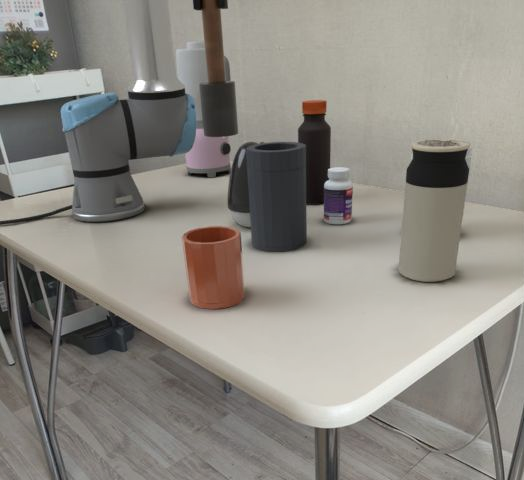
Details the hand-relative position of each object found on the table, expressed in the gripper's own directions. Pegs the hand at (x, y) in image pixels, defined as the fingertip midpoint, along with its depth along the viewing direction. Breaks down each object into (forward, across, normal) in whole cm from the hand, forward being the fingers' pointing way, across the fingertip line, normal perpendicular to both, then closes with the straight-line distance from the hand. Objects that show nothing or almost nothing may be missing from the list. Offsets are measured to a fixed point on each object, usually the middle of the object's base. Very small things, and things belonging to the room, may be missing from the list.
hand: (211, 8), depth 62 cm
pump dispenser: (+34, +1, +30) cm, 45 cm away
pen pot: (+34, -2, -6) cm, 35 cm away
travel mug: (+34, +28, +2) cm, 44 cm away
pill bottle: (+34, +17, +30) cm, 49 cm away
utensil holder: (+34, +6, +18) cm, 39 cm away
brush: (+14, 0, 0) cm, 14 cm away
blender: (+35, -14, +79) cm, 88 cm away
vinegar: (+35, +13, +46) cm, 59 cm away
